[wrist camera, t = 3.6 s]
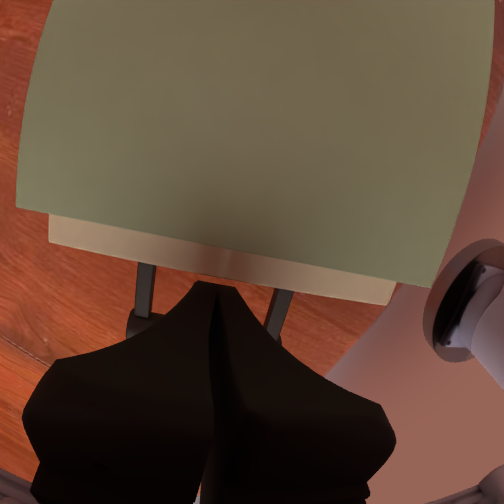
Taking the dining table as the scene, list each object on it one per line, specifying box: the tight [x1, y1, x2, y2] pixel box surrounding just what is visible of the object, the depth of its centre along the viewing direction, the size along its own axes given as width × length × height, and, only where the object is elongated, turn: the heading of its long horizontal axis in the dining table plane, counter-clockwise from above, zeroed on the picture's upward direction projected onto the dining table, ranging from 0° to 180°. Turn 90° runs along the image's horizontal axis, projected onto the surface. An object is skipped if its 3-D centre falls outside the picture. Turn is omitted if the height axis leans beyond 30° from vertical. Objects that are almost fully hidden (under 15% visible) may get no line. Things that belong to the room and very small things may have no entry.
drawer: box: [49, 214, 397, 346], centre depth 11 cm, size 17×10×7 cm, turn 167°
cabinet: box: [16, 0, 494, 288], centre depth 9 cm, size 14×12×9 cm
